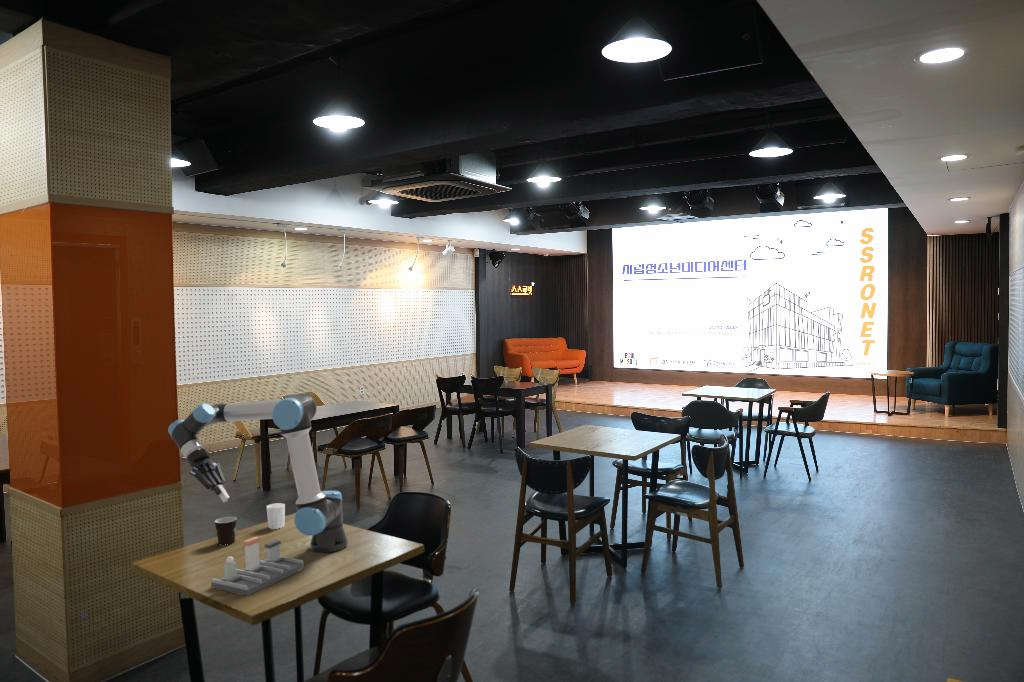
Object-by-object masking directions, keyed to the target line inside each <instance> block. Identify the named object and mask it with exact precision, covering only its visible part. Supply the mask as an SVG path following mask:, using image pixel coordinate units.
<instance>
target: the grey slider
mask: <svg viewBox="0 0 1024 682" xmlns="http://www.w3.org/2000/svg"><path fill="white" fill-rule="evenodd" d="M281 543H282V540H279V539H274V540H272V541H270V542H268V543H266V544H264V548H265V549H266V558H267V559H266V558H265V559H266V560H265V561H267V562H272V563H276V562H278V561H280V560H282V557H280V556H281V549H280V548H281V547H280V545H281Z"/></svg>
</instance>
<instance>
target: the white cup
mask: <svg viewBox="0 0 1024 682" xmlns="http://www.w3.org/2000/svg"><path fill="white" fill-rule="evenodd" d="M266 514H267V523H268V529H269V528H270V529H269V530H280V529H283V528H284V527H285V520H286V518H285V517H286V504H285V503H284V502H283V503H281V502H278V503H277V502H275V503H271V504H268V505H266ZM272 521H273V522H272ZM282 527H283V528H282ZM279 528H280V529H279Z"/></svg>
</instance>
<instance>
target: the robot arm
mask: <svg viewBox="0 0 1024 682" xmlns="http://www.w3.org/2000/svg"><path fill="white" fill-rule="evenodd" d="M317 407H318V406H317V402H316V401H315V399H314V398H312V396H310V395H308V394H305V393H302V394H296V395H292V396H286V397H284V398H283V399H274V400H273V399H272V400H261V401H260V400H259V401H249V402H248V401H247V402H245V401H244V402H233V403H223V402H222V403H216V404H213V405H210V403H209V404H208V403H205V402H203V403H200V404H199V405H197V406H196V407H195V408H194V409H193V410H192V411H191V413H189V415H187V417H186V418H185V419H177V420H175V421H174V422H172V423H171V424H169V426H168V429H167V431H168V434H169V435H170V437H171V439H172V440H173V442H174V443H175V445H176V446H177V447H178V448H179V450H180V452H181V454H183V456H184V458H185V459H186V461H187V462H188V465H190V466H191V470H190V472H189V475H191V476H193V477H194V478H196V480H197V481H198V482H199V483H200V484H202V486H203V487H205V489H206V490H210V491H213V492H214V493H215V495H217V496H219V498H220V499H221V501H222V502H223V503H226V502H228V500H229V499H230V495H229V493H228V492H227V489H226V488H225V486H224V484H225V483H226V479H225V476H224V473H223V470H222V468H221V463H220V462H219V461H218V462H217V463H216V462H214V461H213V460H212V459H210V454H209V452H207V450H206V448H204V446H203V444H202V443H201V441H200V440H199V438H198V437H197V435H198V434H199V433H201V431H203V430H204V428H206V427H208V426H211V425H214V424H215V425H216V424H218V423H229V422H241V421H257V420H260V421H261V420H272V421H273V423H274V425H276V426H277V428H279V430H280V435H281V436H283V437H284V438H285V439H286V443H287V449H288V452H289V457H290V463H291V467H292V472H293V477H294V481H295V487H296V491H297V499H296V501H295V509H296V513H295V516H294V518H293V521H294V526H295V528H296V529H297V531H298V532H300V533H301V534H303V535H305V536H308V537H309V536H311V539H310V541H309V548H310V551H312V550H313V551H312V552H314V551H315V552H314V553H319V552H327V553H333V552H332V551H334V552H338V551H340V550H339V549H341V550H343V549H342V548H344V547H345V546H347V545H349V539H348V536H347V533H346V531H345V529H344V524H343V523H344V522H343V521H344V519H343V517H344V516H343V496H342V493H341V491H338V490H321V486H320V482H319V477H318V472H317V467H316V462H315V458H314V453H313V448H312V443H311V438H310V434H309V433H310V431H311V429H312V423H311V421H312V420H313V418H314V417H315V416H316V414H317V410H318V409H317ZM347 547H348V546H347ZM344 549H345V548H344ZM337 550H338V551H337Z"/></svg>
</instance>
